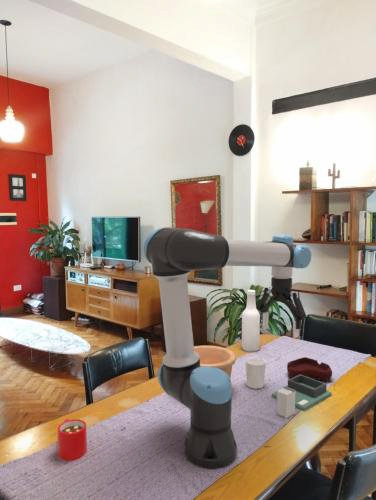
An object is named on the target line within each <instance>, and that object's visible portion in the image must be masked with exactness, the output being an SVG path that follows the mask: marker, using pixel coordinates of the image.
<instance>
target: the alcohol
mask: <svg viewBox="0 0 376 500" xmlns="http://www.w3.org/2000/svg"><path fill="white" fill-rule="evenodd" d="M246 296H247V297H246V306H245V309H244V310H243V312H242V314H241V349H242V350H243V351H244V352H247V353H248V352H249V353H256V352H258V351H259V350H260V338H261V337H260V336H261V335H260V331H261V329H260V328H261V327H260V326H261V318H260V317H261V314H260V311H259V310H258V309H257V305H256V304H257V303H256V290H254V289H248V290H247V295H246Z"/></svg>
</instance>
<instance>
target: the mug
mask: <svg viewBox="0 0 376 500" xmlns="http://www.w3.org/2000/svg"><path fill="white" fill-rule="evenodd" d="M87 443H88V441H87V423H86V422H85V421H84V420H82V419H76V418H73V419H70V418H65V419H64V421H63V422H61V423H60V424H59V425H58V426H57V444H58V446H57V447H58V457H59V458H60V459H61V460H63V461H67V462H70V461H76V460H79V459H81V458H82V457H84V456H85V455H86V454H87V451H88V448H87V446H88V444H87Z"/></svg>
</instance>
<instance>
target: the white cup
mask: <svg viewBox="0 0 376 500" xmlns="http://www.w3.org/2000/svg"><path fill="white" fill-rule="evenodd" d="M266 362H267V360H266V359H264V358H262V357H256V356H255V357H253V356H252V357H248V358H246V359H245V376H246V386H247V387H248V388H250V389H251V388H252V389H255V390H256V389H258V388H259V389H262V388H263V387H264V386H265V377H266Z"/></svg>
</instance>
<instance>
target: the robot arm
mask: <svg viewBox="0 0 376 500" xmlns="http://www.w3.org/2000/svg"><path fill="white" fill-rule="evenodd" d="M143 254H144V257H145V259H146V260H147V262H148V263H150V264H151V270H152V276H153V277H154V278H156V279H157V280H158V287H159V296H160V304H161V305H160V306H161V315H162V322H163V323H162V324H163V333H164V341H165V349H166V351H165V352H166V354H165V355H164V356H163V357H162V363H161V364H160V367H159V369H158V372H157V379H158V380H157V381H158V383H159V385H160V388H161V389H162V390H163V391H164V392H165V393H166V394H167V395H168V396H170V397H171V398H173V399H174V400H175V401H177V402H179V403H180V404H181V405H184V406H185V407H186V408H188V409H189V411H190V414H189V415H190V419H189V421H190V425H189V426H190V427H189V429H188V431H187V435H186V438H185V441H184V446H183V449H184V453H183V454H184V456H185V457H186V459H187V460H188V461H189V462H190V463H191V464H193V465H195V466H197V467H201V468H203V469H204V468H205V469H219V468H224V467H227V466H229V465H230V464H232V463H233V462H234V461H235V460H236V458H237V456H238V455H237V453H238V445H237V441H236V440H235V435H234V432H233V429H232V403H233V401H232V399H233V396H232V395H233V388H232V380H231V378H230V377H229V376H228V375H227V374H226V373H225V372H224V371H222V370H220V369H218V368H212V367H208V366H204V367H201V366H200V356H199V354H198V353H197V352H195V351H194V346H195V345H194V336H193V334H194V333H193V326H192V325H193V324H192V316H191V315H192V314H191V305H190V294H189V285H188V276H189V275H190V274H191V272H192V271H205V270H206V271H207V270H208V271H209V270H221V269H223V268H225V267H270V268H271V282H270V283H271V284H270V286H271V287H270V286H267V287H264V290H263V294H262V296H261V298H260V300H259V303H258V305H256V309H257V310H258V311H259V312H260V313H261V314H260V317H261V318H260V321H262V329H261V330H264V331H265V330H268V329H269V314H270V313H269V311H268V310H269V309H270V308H271V307H272V306H273V305H274V304H275V302H280V303H282V304H283V303H284V304H285V305H286V306H287V308H288V309H289V311H290V313H291V314H292V316H293V318H294V319H293V325H292V327H293V328H292V338H293V339H297V338H299V337H300V329H301V328H302V321H303V320H306V319H307V317H308V316H307V314H306V311H305V309H304V306H303V303H302V301H301V298H300V297H301V296H300V292H299V291H294V292H292V288H293V278H292V277H293V268H294V269H306V268H308V267H309V265H310V264H311V261H312V251H311V249H310V248H309V246H307V245H303V244H296V243H295V244H294V237H293V236H292V235H289V234H288V235H287V234H275V235H273V236H272V240H271V241H256V240H253V241H252V240H243V239H241V240H239V239H227V238H226V237H225V236H224V235H220V234H212V233H207V232H203V231H199V230H197V229H196V230H195V229H190V228H179V227H170V226H169V227H158V228H156V229H154V230H152V231H151V232H150V233H149V234H148V236H146V238H145V240H144V243H143ZM270 295H271V297H270ZM269 297H270V298H269ZM268 299H269V300H268Z"/></svg>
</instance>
